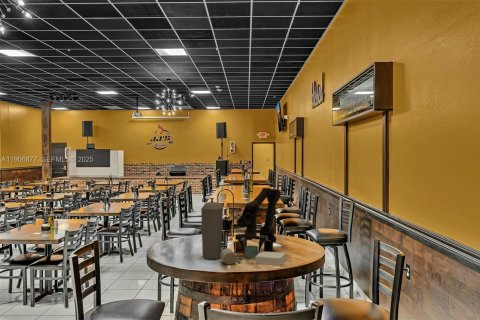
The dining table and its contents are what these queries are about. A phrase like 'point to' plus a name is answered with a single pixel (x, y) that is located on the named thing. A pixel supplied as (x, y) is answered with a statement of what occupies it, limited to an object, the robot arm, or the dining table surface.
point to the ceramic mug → (229, 256)
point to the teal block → (251, 251)
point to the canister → (211, 230)
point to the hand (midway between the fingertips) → (251, 252)
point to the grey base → (270, 258)
